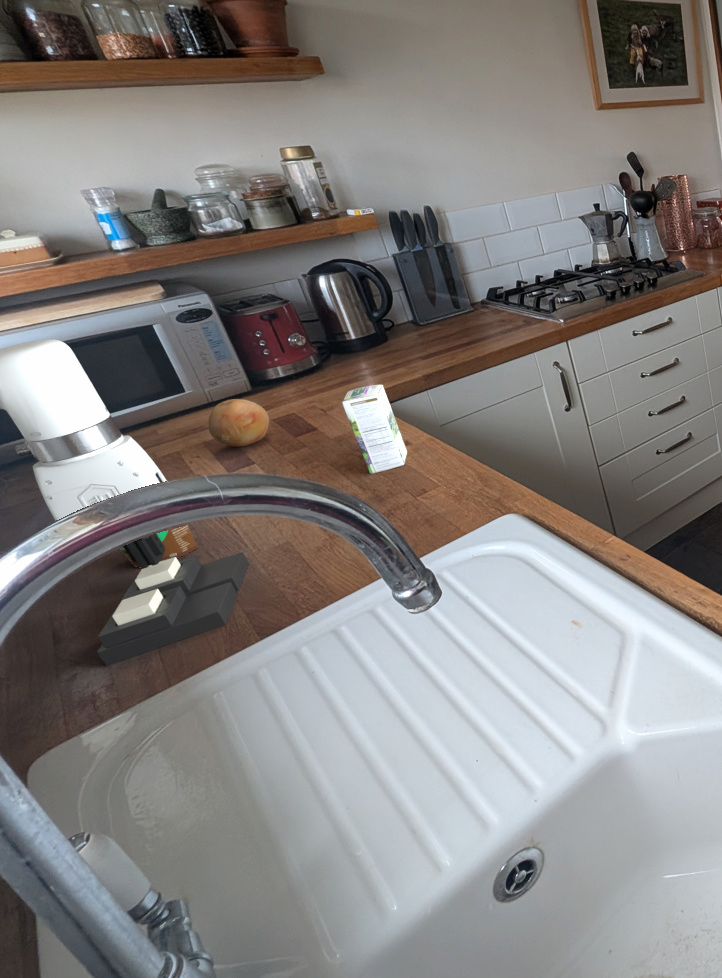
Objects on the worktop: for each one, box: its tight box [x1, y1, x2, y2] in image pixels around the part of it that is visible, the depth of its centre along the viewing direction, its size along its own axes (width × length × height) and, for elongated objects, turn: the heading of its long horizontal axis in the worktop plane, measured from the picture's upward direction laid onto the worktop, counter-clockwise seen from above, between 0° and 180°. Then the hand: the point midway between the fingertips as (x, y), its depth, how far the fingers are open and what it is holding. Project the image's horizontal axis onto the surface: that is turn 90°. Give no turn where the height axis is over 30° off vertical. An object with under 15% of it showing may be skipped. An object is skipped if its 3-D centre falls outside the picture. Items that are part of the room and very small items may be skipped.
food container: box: [119, 524, 199, 567], centre depth 100 cm, size 12×6×10 cm, turn 80°
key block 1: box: [121, 552, 250, 601], centre depth 92 cm, size 12×7×4 cm, turn 118°
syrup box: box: [341, 384, 408, 475], centre depth 121 cm, size 6×6×14 cm
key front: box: [112, 589, 164, 626], centre depth 84 cm, size 4×4×2 cm
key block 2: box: [96, 582, 239, 667], centre depth 86 cm, size 12×7×4 cm, turn 118°
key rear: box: [134, 557, 182, 590], centre depth 91 cm, size 4×4×2 cm
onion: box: [208, 398, 270, 448], centre depth 139 cm, size 10×10×10 cm
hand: (153, 561), depth 90 cm, fingers closed
